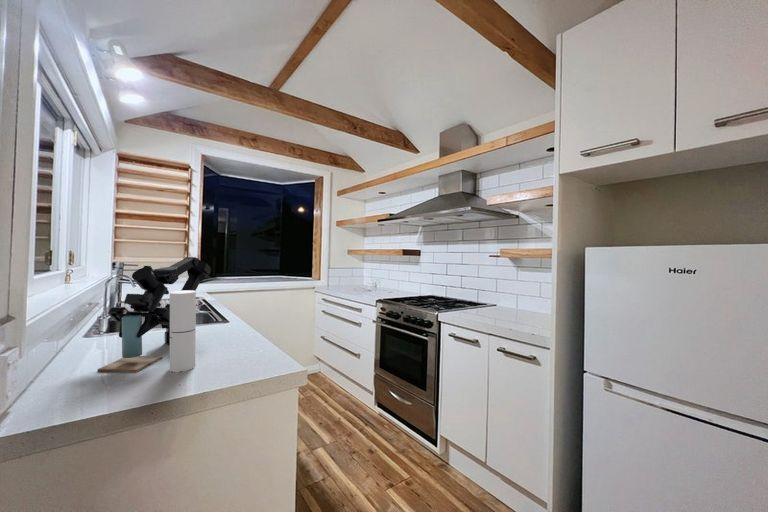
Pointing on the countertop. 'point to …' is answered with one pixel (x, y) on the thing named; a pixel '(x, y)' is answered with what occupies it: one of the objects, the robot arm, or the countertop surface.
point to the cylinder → (131, 336)
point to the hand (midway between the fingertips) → (128, 337)
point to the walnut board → (130, 364)
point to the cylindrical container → (182, 330)
